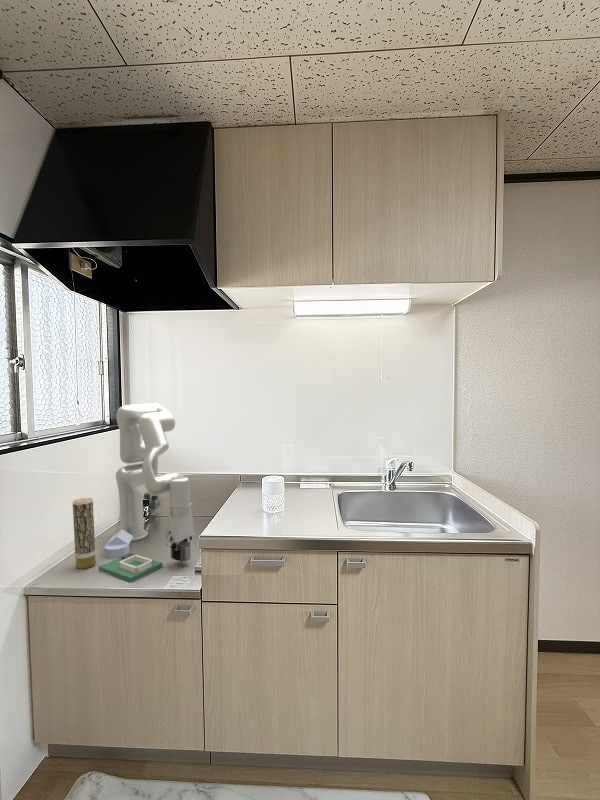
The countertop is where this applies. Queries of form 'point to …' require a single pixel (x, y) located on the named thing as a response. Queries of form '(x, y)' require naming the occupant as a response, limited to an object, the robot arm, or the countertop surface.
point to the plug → (183, 550)
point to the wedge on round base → (118, 544)
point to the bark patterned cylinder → (84, 532)
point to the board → (130, 567)
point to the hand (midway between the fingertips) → (181, 556)
